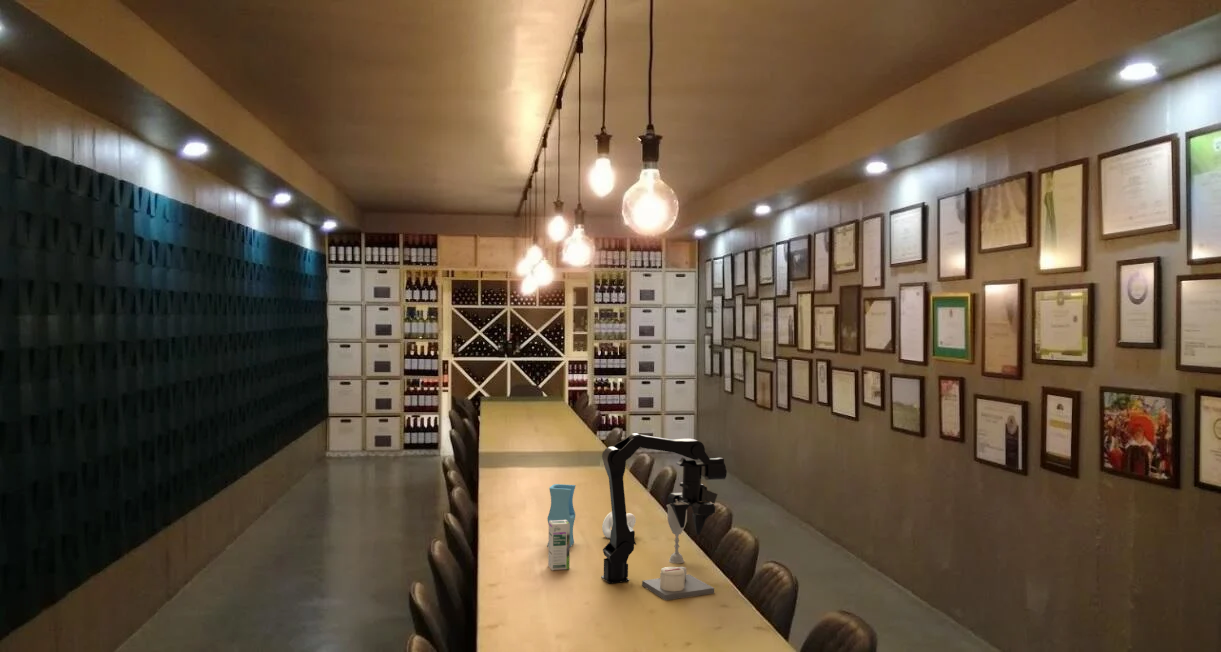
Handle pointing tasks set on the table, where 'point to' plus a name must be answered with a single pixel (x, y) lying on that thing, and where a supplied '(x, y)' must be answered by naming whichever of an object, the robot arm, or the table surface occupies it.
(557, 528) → the syrup box
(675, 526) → the chalice
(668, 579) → the knob
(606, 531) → the white rounded lump
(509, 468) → the table surface
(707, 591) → the board
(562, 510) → the vase
